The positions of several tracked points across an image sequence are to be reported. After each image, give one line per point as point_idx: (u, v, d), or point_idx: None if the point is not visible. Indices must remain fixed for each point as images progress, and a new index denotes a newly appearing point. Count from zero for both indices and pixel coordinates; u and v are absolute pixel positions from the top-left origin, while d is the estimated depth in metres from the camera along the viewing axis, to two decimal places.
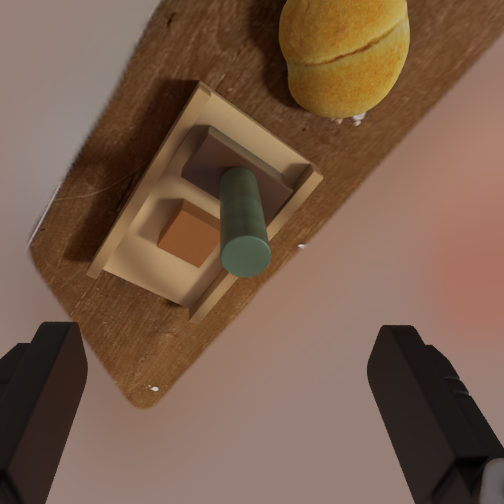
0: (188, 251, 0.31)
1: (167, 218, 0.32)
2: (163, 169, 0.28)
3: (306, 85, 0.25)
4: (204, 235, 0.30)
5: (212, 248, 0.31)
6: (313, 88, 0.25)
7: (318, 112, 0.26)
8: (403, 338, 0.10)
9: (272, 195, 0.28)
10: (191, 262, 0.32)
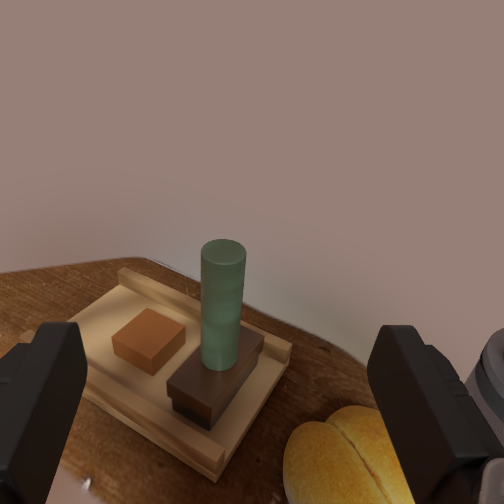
0: (135, 329, 0.30)
1: None
2: None
3: (316, 424, 0.25)
4: (153, 341, 0.29)
5: (135, 348, 0.29)
6: (316, 426, 0.24)
7: (291, 444, 0.24)
8: (403, 338, 0.10)
9: (205, 386, 0.25)
10: (120, 330, 0.30)
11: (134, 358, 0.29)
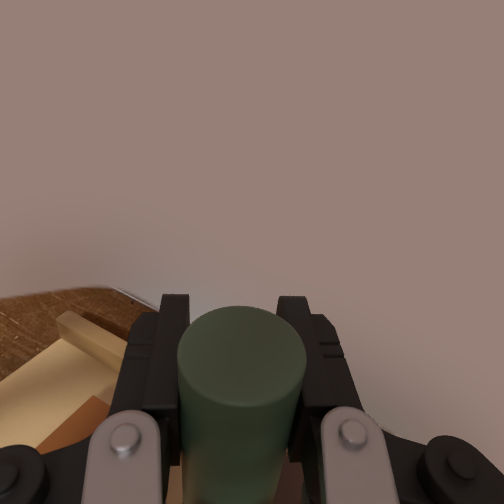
0: None
1: None
2: None
3: None
4: None
5: None
6: None
7: None
8: (292, 307, 0.10)
9: None
10: None
11: None
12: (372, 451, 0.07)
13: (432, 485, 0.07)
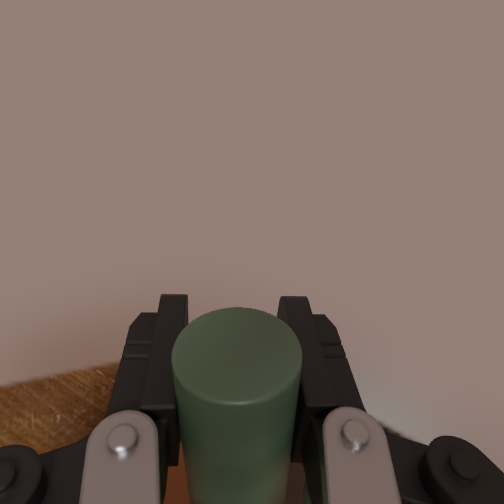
0: None
1: None
2: None
3: None
4: None
5: None
6: None
7: None
8: (293, 307, 0.10)
9: None
10: None
11: None
12: (374, 451, 0.07)
13: (434, 485, 0.07)
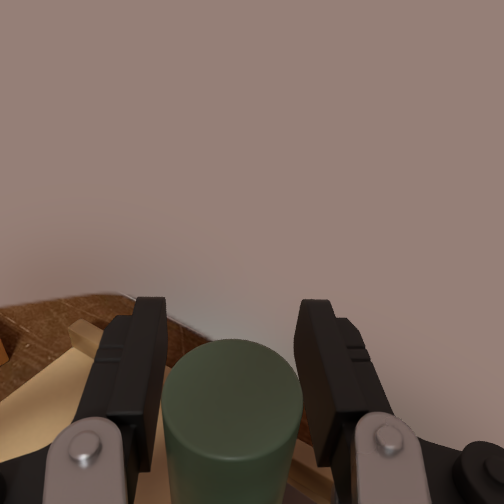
0: None
1: None
2: None
3: None
4: None
5: None
6: None
7: None
8: (316, 310, 0.10)
9: None
10: None
11: None
12: (408, 457, 0.07)
13: (467, 488, 0.07)
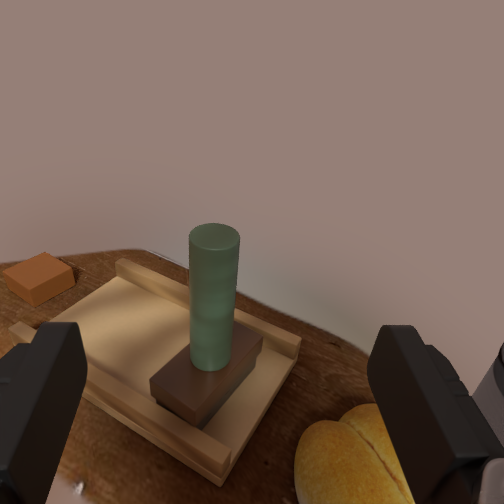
0: (26, 267, 0.34)
1: (164, 324, 0.31)
2: None
3: (329, 423, 0.23)
4: (37, 277, 0.33)
5: (19, 280, 0.32)
6: (331, 426, 0.22)
7: (303, 445, 0.22)
8: (403, 338, 0.10)
9: (191, 387, 0.22)
10: (12, 267, 0.34)
11: (19, 290, 0.33)
12: None
13: None
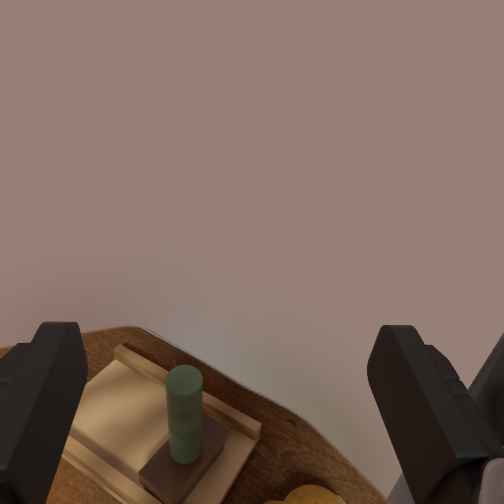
0: None
1: (153, 408, 0.38)
2: None
3: None
4: None
5: None
6: None
7: None
8: (403, 338, 0.10)
9: (170, 480, 0.30)
10: None
11: None
12: None
13: None
